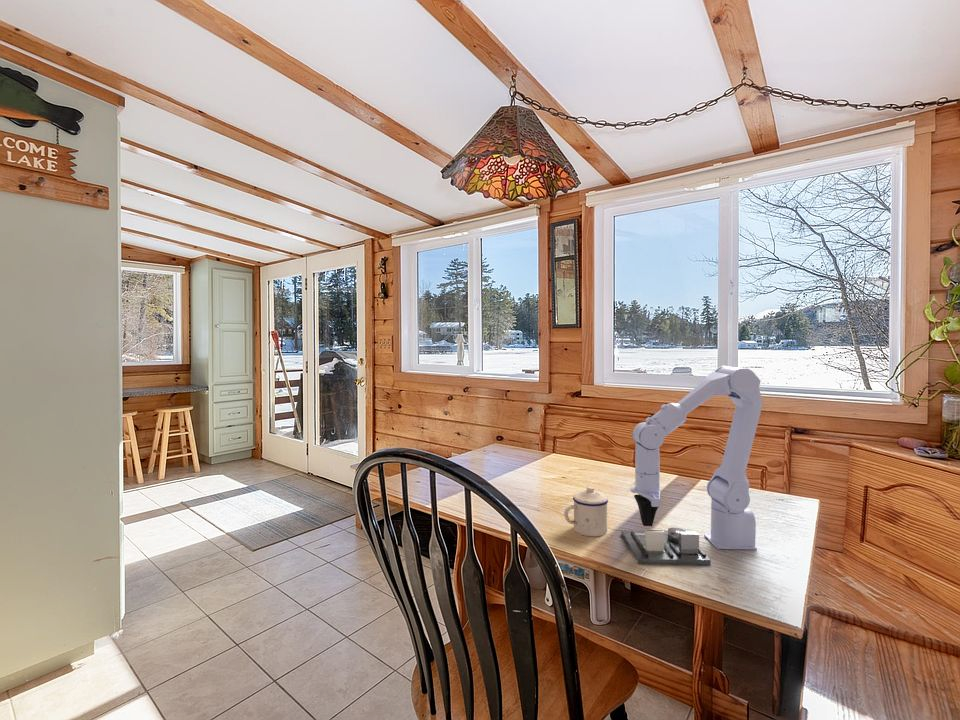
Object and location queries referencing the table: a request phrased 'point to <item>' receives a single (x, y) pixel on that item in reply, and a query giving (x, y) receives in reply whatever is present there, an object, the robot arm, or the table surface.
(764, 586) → the table surface
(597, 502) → the teacup with lid
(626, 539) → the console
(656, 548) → the fader
